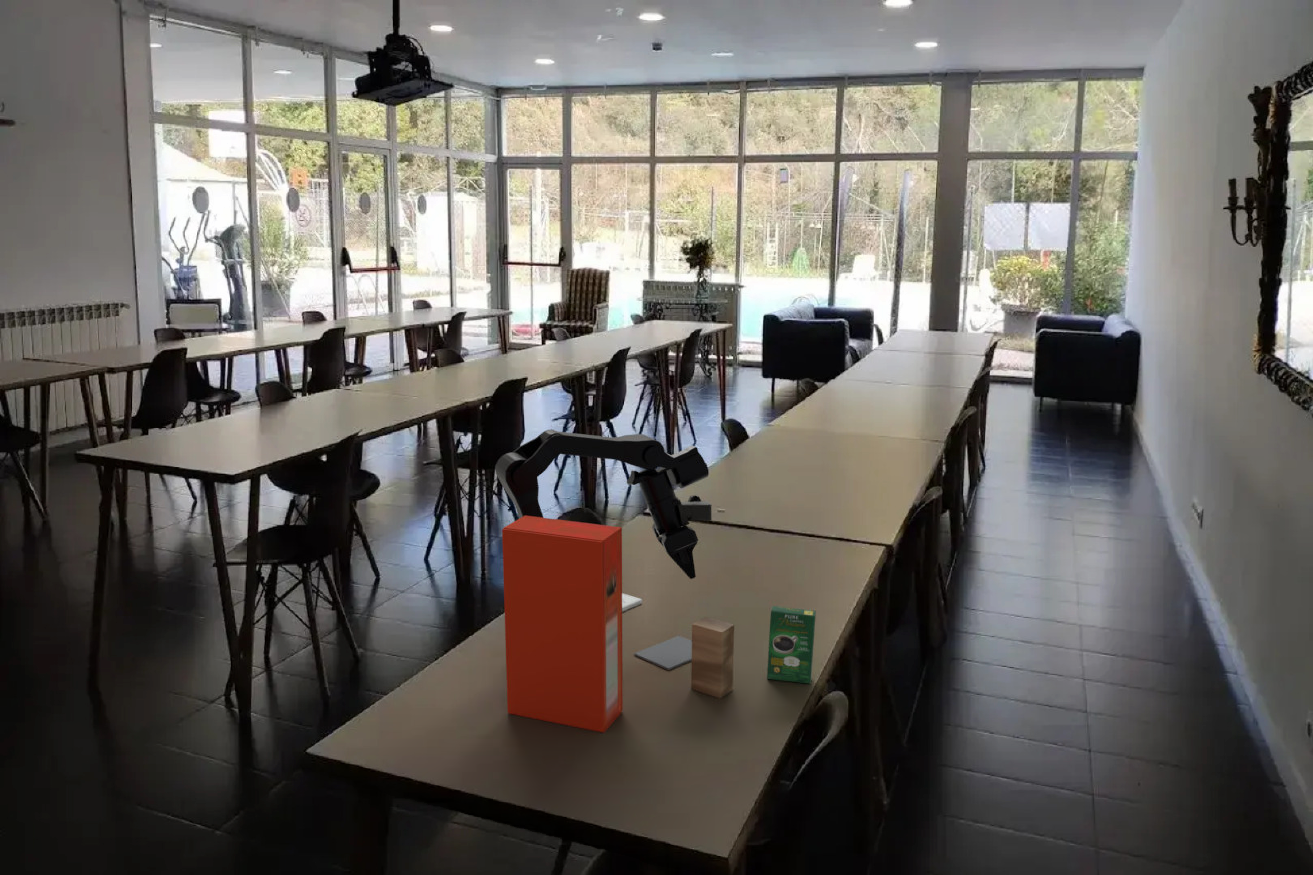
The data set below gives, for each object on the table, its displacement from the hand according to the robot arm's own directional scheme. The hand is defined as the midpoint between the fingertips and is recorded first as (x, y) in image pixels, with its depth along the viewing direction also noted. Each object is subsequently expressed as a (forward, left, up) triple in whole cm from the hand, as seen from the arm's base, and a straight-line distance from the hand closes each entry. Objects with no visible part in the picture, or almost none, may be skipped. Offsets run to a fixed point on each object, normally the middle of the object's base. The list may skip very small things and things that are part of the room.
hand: (689, 572), depth 196 cm
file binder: (-37, -7, -14) cm, 40 cm away
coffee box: (0, -25, -14) cm, 28 cm away
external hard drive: (0, +23, -14) cm, 27 cm away
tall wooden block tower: (-13, -18, -14) cm, 26 cm away
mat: (-7, -3, -14) cm, 15 cm away
